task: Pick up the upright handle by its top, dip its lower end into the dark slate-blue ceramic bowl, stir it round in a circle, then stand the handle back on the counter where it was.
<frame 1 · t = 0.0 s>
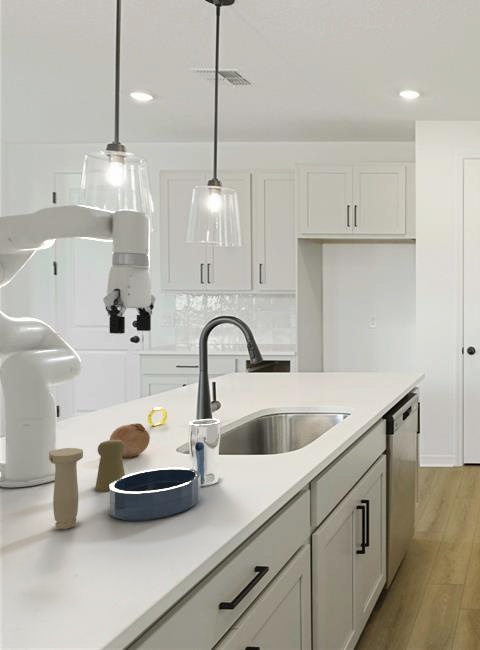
hand: (130, 332, 137), 37 cm above the countertop, tool pointing down, fingers open, 9 cm apart
olive tapered shaker: (110, 487, 134), on the countertop
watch: (157, 425, 195), on the countertop
onion: (129, 456, 159), on the countertop
bowl: (156, 506, 123), on the countertop
handle: (65, 528, 111), on the countertop
beer glass: (204, 483, 139), on the countertop
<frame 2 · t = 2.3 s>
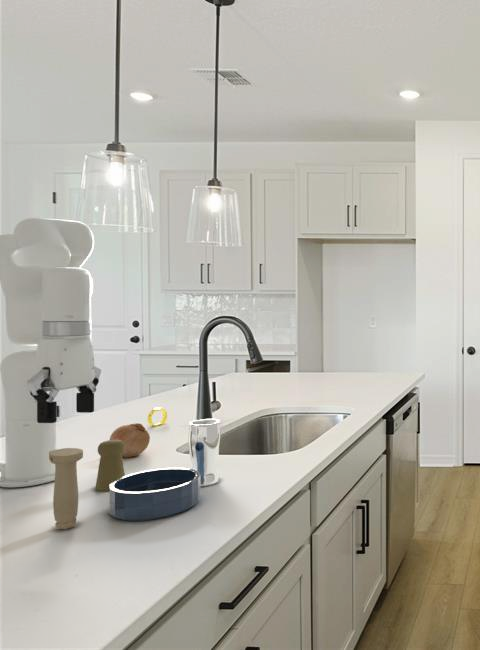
hand: (66, 417, 111), 22 cm above the countertop, tool pointing down, fingers open, 9 cm apart
nothing on the countertop moved.
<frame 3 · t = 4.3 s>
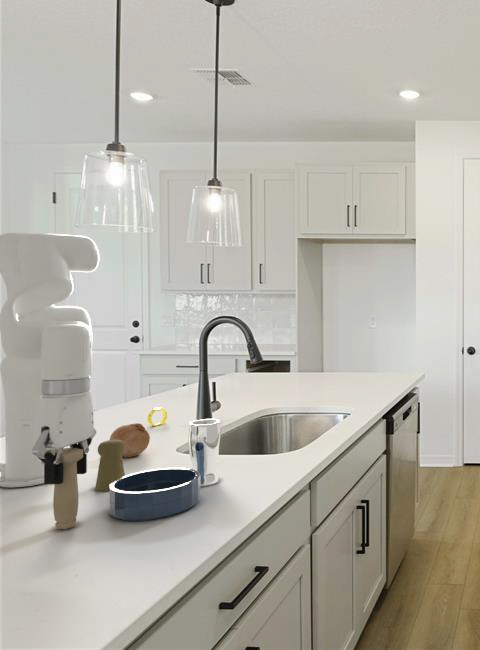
hand: (66, 477, 111), 10 cm above the countertop, tool pointing down, fingers closed on handle, 5 cm apart
handle: (65, 528, 111), on the countertop, touching gripper
everything else where it was.
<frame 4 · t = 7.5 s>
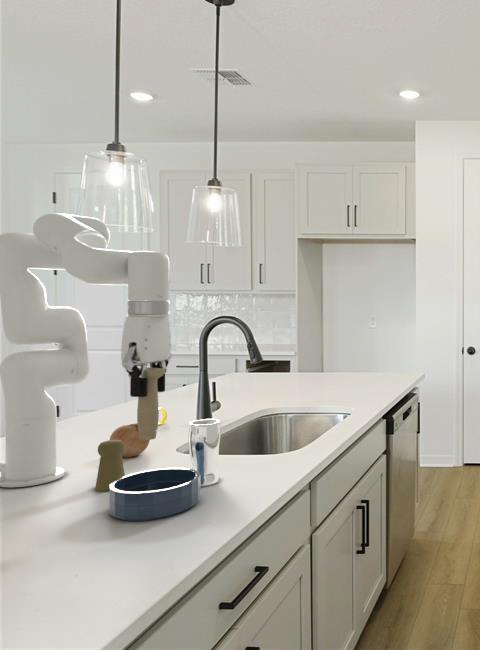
hand: (148, 393, 121), 25 cm above the countertop, tool pointing down, fingers closed on handle, 5 cm apart
handle: (147, 439, 121), point 15 cm above the countertop, touching gripper
everything else where it was.
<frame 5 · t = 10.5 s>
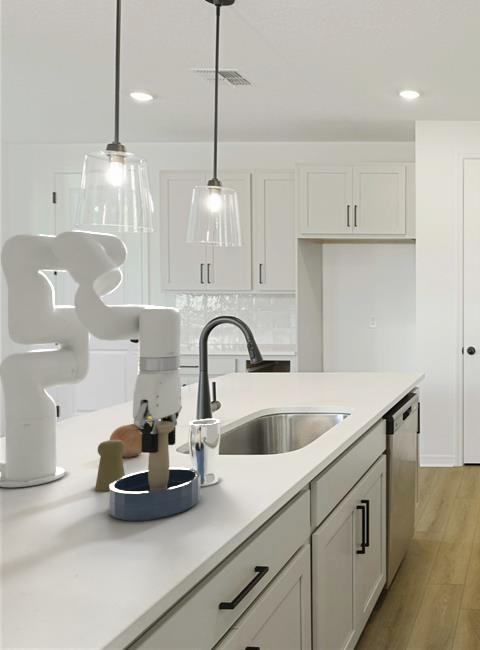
hand: (158, 447, 121), 13 cm above the countertop, tool pointing down, fingers closed on handle, 5 cm apart
handle: (158, 493, 122), point 3 cm above the countertop, touching gripper
everything else where it was.
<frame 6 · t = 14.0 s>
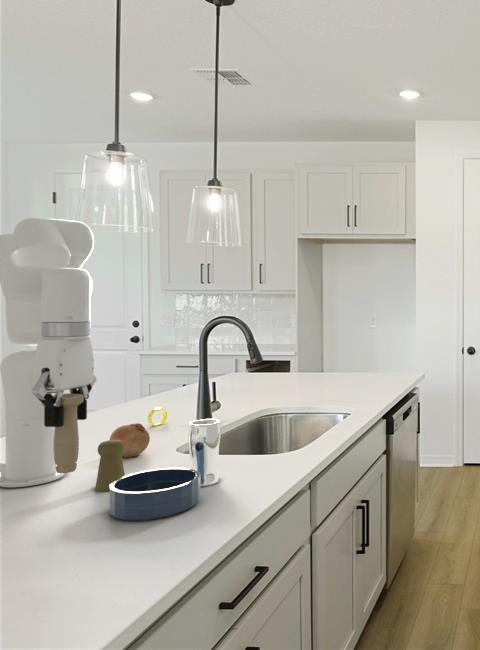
hand: (66, 421, 111), 21 cm above the countertop, tool pointing down, fingers closed on handle, 5 cm apart
handle: (66, 472, 111), point 11 cm above the countertop, touching gripper
everything else where it was.
when the fingers open (10 cm above the countertop, at t = 16.9 s): handle stays where it is, on the countertop.
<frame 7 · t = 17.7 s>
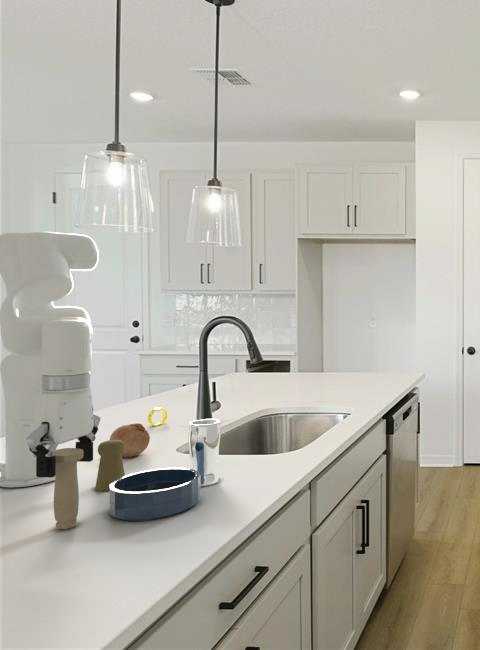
hand: (65, 468, 111), 12 cm above the countertop, tool pointing down, fingers open, 9 cm apart
handle: (66, 528, 111), on the countertop
everything else where it was.
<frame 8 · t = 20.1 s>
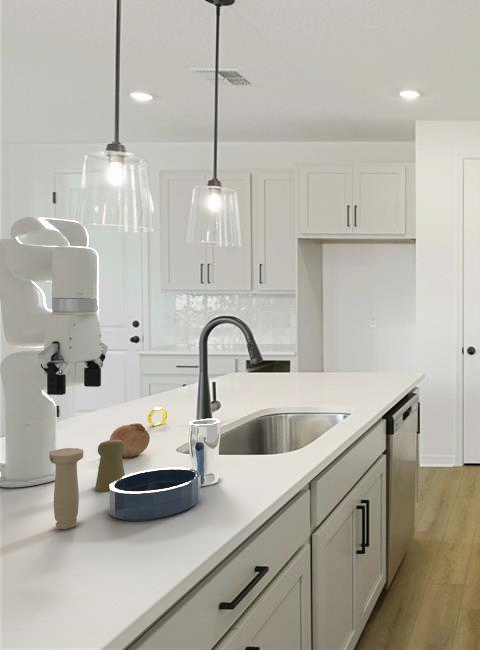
hand: (75, 390, 116), 26 cm above the countertop, tool pointing down, fingers open, 9 cm apart
nothing on the countertop moved.
at the end: handle inside the target area (0.1 cm from its centre), on the countertop; handle tilted 0°; the gripper is holding nothing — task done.
